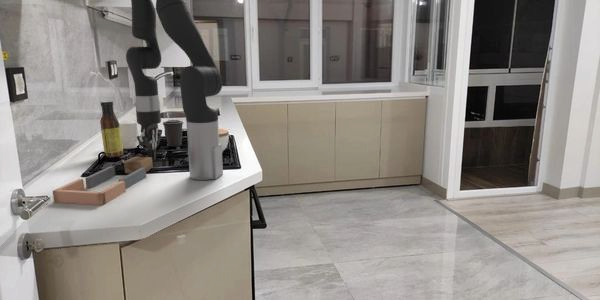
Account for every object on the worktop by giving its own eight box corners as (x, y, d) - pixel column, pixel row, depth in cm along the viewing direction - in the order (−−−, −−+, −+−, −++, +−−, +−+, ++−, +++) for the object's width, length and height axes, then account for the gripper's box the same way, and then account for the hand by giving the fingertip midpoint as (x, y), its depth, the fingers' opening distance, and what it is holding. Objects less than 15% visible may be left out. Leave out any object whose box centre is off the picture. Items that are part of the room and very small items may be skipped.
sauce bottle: (127, 154, 154) (121, 100, 149) (114, 158, 148) (108, 102, 143) (113, 153, 156) (107, 99, 151) (100, 157, 150) (93, 102, 145)
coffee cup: (186, 146, 166) (184, 121, 164) (164, 147, 164) (162, 122, 161) (184, 142, 174) (182, 118, 171) (163, 143, 171) (161, 119, 169)
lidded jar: (226, 155, 153) (225, 130, 150) (197, 155, 153) (195, 129, 151) (231, 148, 163) (230, 124, 161) (204, 148, 163) (202, 124, 161)
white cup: (133, 149, 161) (130, 124, 158) (114, 148, 162) (112, 123, 160) (144, 145, 168) (142, 120, 166) (126, 144, 170) (124, 120, 168)
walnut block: (152, 169, 136) (151, 157, 135) (142, 174, 130) (141, 162, 129) (136, 168, 137) (135, 156, 136) (125, 173, 131) (123, 161, 130)
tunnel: (146, 177, 127) (145, 167, 126) (124, 190, 115) (122, 179, 115) (111, 175, 129) (110, 166, 128) (86, 188, 117) (85, 177, 116)
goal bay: (125, 191, 114) (124, 181, 113) (102, 205, 104) (101, 193, 104) (80, 188, 116) (79, 178, 116) (54, 202, 106) (52, 190, 106)
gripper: (148, 112, 131) (152, 165, 135) (167, 106, 143) (171, 155, 148) (126, 111, 132) (131, 164, 136) (147, 105, 144) (151, 154, 149)
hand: (152, 159), depth 142 cm, fingers closed
